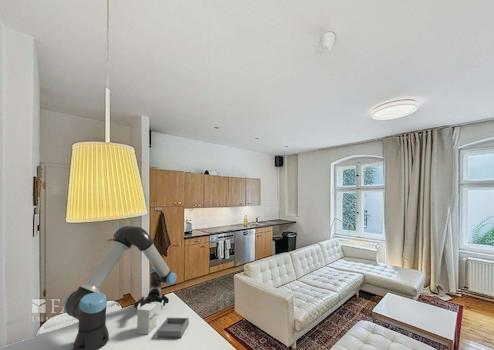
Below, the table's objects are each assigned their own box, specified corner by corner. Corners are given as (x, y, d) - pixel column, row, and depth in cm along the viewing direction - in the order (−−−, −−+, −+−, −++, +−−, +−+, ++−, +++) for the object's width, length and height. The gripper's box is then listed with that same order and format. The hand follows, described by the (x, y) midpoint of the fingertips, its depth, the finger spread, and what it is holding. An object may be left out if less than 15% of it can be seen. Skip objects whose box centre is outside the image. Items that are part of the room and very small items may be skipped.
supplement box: (148, 334, 121) (149, 310, 122) (136, 333, 123) (137, 309, 124) (156, 326, 128) (157, 304, 129) (145, 325, 130) (145, 303, 131)
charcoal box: (157, 337, 118) (157, 330, 119) (167, 323, 131) (167, 317, 132) (180, 338, 118) (180, 331, 118) (188, 324, 131) (188, 317, 131)
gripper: (173, 297, 157) (171, 312, 137) (134, 302, 150) (126, 319, 130) (173, 286, 158) (171, 299, 137) (134, 290, 151) (127, 305, 130)
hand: (149, 309), depth 133 cm, fingers open, 13 cm apart
